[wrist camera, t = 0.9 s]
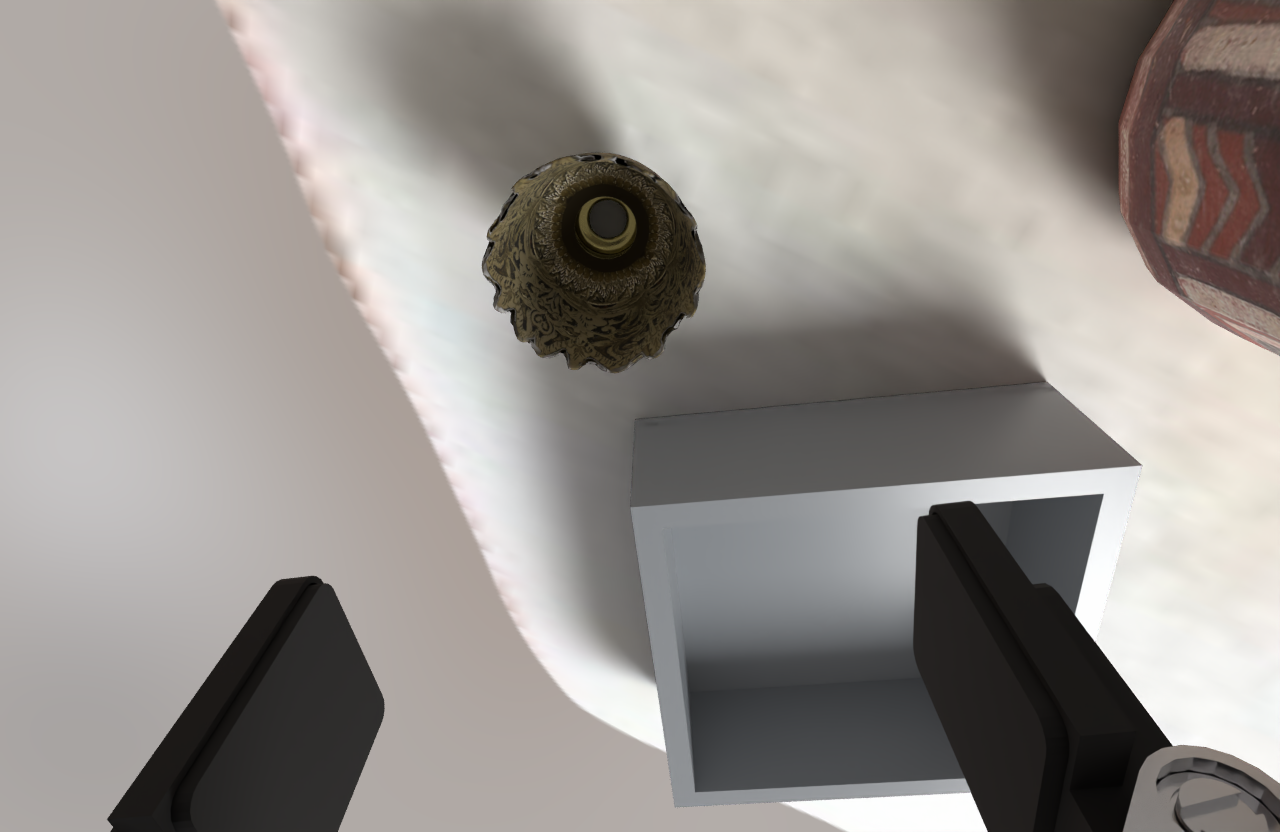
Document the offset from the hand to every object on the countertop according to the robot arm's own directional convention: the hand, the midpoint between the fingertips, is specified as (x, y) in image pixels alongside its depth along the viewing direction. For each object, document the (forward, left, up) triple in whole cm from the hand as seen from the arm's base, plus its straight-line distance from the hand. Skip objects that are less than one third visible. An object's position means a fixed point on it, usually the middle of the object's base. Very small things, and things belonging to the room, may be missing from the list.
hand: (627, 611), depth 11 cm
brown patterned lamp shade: (-1, -1, -23) cm, 23 cm away
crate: (+19, +9, -23) cm, 30 cm away
